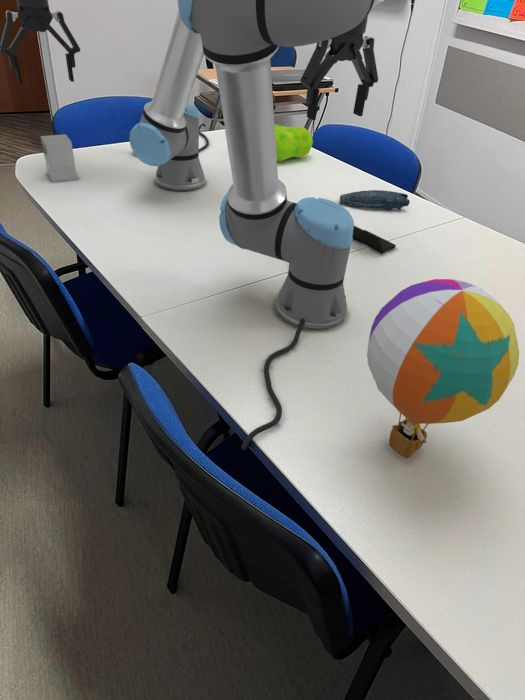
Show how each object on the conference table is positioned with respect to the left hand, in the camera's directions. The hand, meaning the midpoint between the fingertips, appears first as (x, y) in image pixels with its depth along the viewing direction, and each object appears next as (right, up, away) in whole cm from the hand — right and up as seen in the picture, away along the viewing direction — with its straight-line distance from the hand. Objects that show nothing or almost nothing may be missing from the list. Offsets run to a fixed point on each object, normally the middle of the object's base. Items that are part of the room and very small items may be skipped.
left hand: (46, 81), depth 144 cm
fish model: (+94, -30, +16) cm, 100 cm away
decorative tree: (+63, -4, +45) cm, 77 cm away
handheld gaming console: (+89, -46, -5) cm, 100 cm away
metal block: (-2, -21, +17) cm, 27 cm away
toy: (+83, -90, -60) cm, 136 cm away
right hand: (+77, -19, -20) cm, 82 cm away
